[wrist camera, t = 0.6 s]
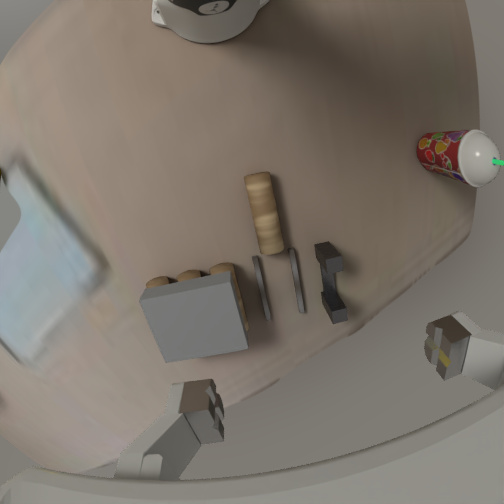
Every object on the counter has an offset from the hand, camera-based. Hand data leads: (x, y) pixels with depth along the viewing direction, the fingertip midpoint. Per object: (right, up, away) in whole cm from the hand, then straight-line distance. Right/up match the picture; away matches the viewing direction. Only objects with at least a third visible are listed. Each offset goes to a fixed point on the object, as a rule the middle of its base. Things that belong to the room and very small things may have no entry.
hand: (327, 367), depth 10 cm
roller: (-1, +11, +39) cm, 40 cm away
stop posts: (+10, 0, +43) cm, 44 cm away
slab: (-12, -6, +40) cm, 42 cm away
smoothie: (+28, +22, +37) cm, 51 cm away
